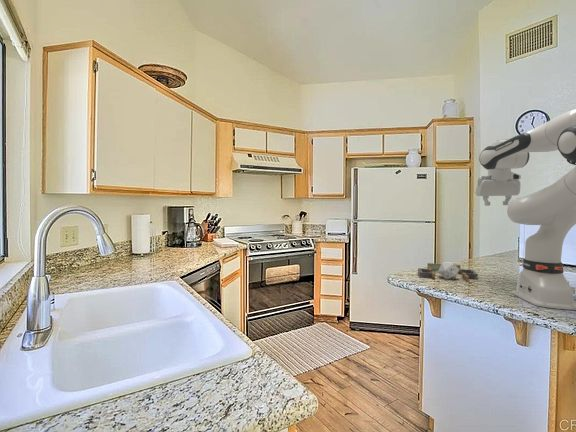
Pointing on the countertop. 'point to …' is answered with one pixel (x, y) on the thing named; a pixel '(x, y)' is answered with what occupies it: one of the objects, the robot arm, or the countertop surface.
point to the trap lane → (435, 267)
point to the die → (448, 270)
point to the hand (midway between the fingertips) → (496, 205)
